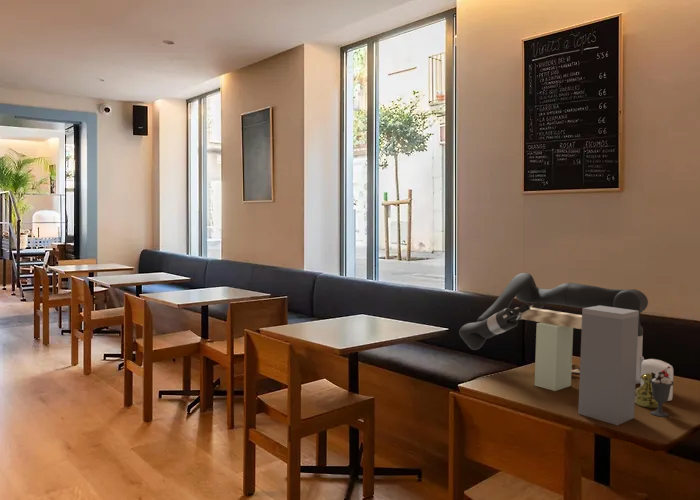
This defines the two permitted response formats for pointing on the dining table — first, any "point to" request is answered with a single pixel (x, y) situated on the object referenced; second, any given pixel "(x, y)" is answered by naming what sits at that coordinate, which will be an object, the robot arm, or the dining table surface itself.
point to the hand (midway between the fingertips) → (535, 305)
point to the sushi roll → (575, 371)
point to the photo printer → (657, 370)
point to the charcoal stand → (608, 363)
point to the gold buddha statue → (645, 393)
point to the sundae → (661, 390)
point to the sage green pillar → (553, 356)
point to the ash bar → (553, 317)
